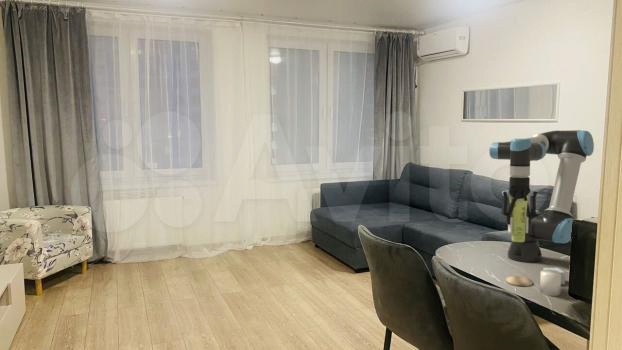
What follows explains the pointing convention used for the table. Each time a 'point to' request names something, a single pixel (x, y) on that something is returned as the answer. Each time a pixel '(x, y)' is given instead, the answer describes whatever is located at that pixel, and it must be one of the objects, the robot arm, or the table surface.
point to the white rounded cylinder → (550, 282)
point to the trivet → (519, 281)
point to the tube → (519, 219)
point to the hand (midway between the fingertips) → (517, 232)
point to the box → (558, 271)
